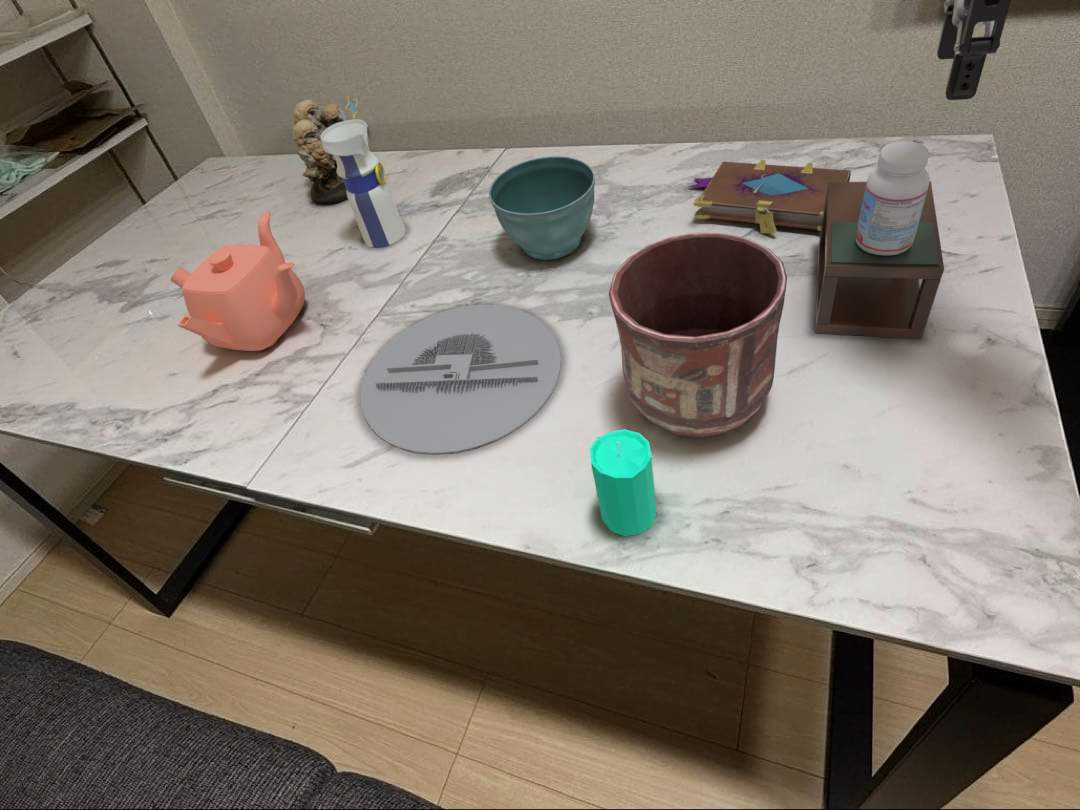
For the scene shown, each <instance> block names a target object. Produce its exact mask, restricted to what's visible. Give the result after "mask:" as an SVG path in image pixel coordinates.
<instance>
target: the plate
mask: <svg viewBox="0 0 1080 810" xmlns="http://www.w3.org/2000/svg"><path fill="white" fill-rule="evenodd" d="M561 355H562V354H561V350H560V346H559V343H558V341H557V338H556V336H555V335H554V333H553V332H552V330H551V328H549V327H548V326H547V324H545V322H543V321H542V320H540V319H539V318H537V317H536V316H534V315H532V314H530V313H529V312H526V311H524V310H521V309H518V308H516V307H511V306H505V305H500V304H471V305H465V306H464V305H463V306H459V307H455V308H451V309H447V310H443V311H440V312H438V313H435V314H432V315H430V316H427V317H425V318H424V319H421V320H420V321H418V322H416V323H414V324H412V325H410V326H409V327H407V328H405V329H404V330H402V331H401V332H399V333H398V334H397V335H395V336H394V337H393V338H392V339H391V340H390V341H388V343H386V345H384V347H383V348H381V350H380V351H379V352H378V353H377V354H376V356H375V357H374V358H373V359H372V361H371V362H370V365H369V367H368V368H367V371H366V372H365V374H364V376H363V380H362V384H361V388H360V405H361V410H362V414H363V417H364V419H365V421H366V423H367V424H368V426H369V427H370V428H371V430H372V431H373V433H375V434H376V435H377V436H378V437H379V438H381V440H383V441H385V442H386V443H388V444H389V445H392V446H393V447H396V448H398V449H401V450H403V451H407V452H411V453H414V454H423V455H449V454H458V453H463V452H468V451H471V450H475V449H478V448H481V447H484V446H486V445H489V444H492V443H494V442H497V441H499V440H501V439H502V438H504V437H506V436H509V435H510V434H512V433H513V432H515V431H516V430H518V429H519V428H520V427H522V426H523V425H524V424H526V423H527V422H528V421H530V420H531V419H532V418H533V417H534V416H536V414H537V413H538V412H539V411H540V410H541V409H542V407H544V405H545V404H546V402H547V401H548V400H549V398H550V397H551V395H552V394H553V392H554V391H555V388H556V386H557V383H558V380H559V377H560V375H561V374H560V373H561V365H562V356H561Z"/></svg>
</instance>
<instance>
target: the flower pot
mask: <svg viewBox="0 0 1080 810" xmlns="http://www.w3.org/2000/svg"><path fill="white" fill-rule="evenodd" d="M595 186H596V177H595V172H594V169H593V168H592V167H591V166H590V165H589V164H588V163H587V162H585V161H583V160H581V159H578V158H574V157H569V156H563V155H558V156H557V155H551V156H542V157H537V158H532V159H528V160H525V161H522V162H518V163H517V164H514V165H513V166H511V167H509V168H506V170H504V171H503V172H501V173H500V174H499V175H498V176H497V177H495V179H494V180H493V181H492V183H491V185H490V186H489V189H488V197H489V201H490V204H491V206H492V207H493V209H494V213H495V215H496V217H497V220H498V222H499V224H500V226H501V228H502V229H503V231H504V232H505V233H506V234H507V236H508V237H509V238H510V239H511V240H512V241H513V242H514V243H515V244H517V246H520V247H521V248H522V249H523V251H524V253H525V254H526V255H527V256H529V257H530V258H533V259H536V260H542V261H549V260H556V259H560V258H564V257H565V256H568V255H570V254H572V253H573V252H575V250H576V249H577V248H578V247H579V246H580V244H581V242H582V241H581V240H582V236H583V234H584V233H585V231H586V230H587V228H588V227H589V224H590V221H591V218H592V216H593V215H592V214H593V210H594V205H595Z"/></svg>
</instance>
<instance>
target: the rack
mask: <svg viewBox="0 0 1080 810" xmlns="http://www.w3.org/2000/svg"><path fill="white" fill-rule="evenodd" d="M866 183H867V181H849V182H828V187H827V194H826V200H825V207H824V213H823V220H822V226H821V231H820V233H819V240H818V246H817V266H816V267H817V269H816V271H817V272H816V294H815V295H816V296H815V297H816V298H815V328H814V333H815V334H823V335H838V336H839V335H842V336H858V337H859V336H860V337H875V338H877V337H878V338H897V339H911V340H912V339H913V340H916V339H917V340H922V338H923V335H924V332H925V330H926V326H927V324H928V320H929V317H930V314H931V311H932V308H933V305H934V302H935V300H936V299H935V298H936V295H937V293H938V290H939V287H940V284H941V280H942V277H943V275H944V272H945V264H944V259H943V251H942V246H941V238H940V232H939V231H940V230H939V225H938V218H937V211H936V206H935V205H936V204H935V200H934V192H933V186H932V181H931V180H930V182H929V187H928V190H927V194H926V198H925V202H924V205H923V209H922V213H921V217H920V220H919V224H918V227H917V231H916V235H915V238H914V241H913V244H912V246H911V247H910V248H909V249H908V250H906V251H905V252H903V253H900V254H897V255H891V256H883V255H874V254H871V253H868V252H866V251H864V250H862V249H861V248H860V247H859V246H858V245H857V243H856V232H857V227H858V222H859V217H860V212H861V207H862V202H863V197H864V192H865V187H866ZM920 280H921V283H920Z"/></svg>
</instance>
